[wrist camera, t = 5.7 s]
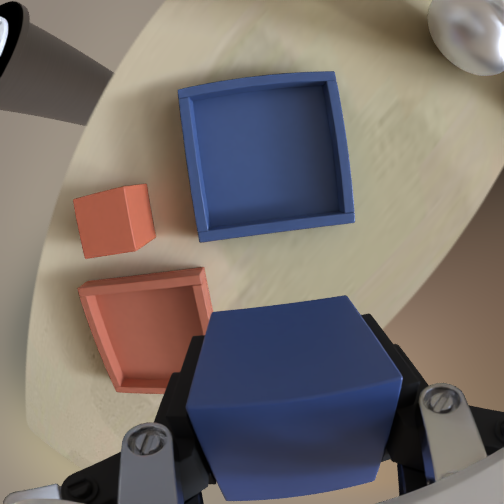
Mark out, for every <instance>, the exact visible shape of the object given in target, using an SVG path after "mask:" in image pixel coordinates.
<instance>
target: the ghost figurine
mask: <svg viewBox="0 0 504 504" xmlns="http://www.w3.org/2000/svg"><path fill="white" fill-rule="evenodd" d="M428 27H429V31H430V34H431V36H432V38H433V41H434V42H435V44H436V46H437V47H438V49H439V50H440V51H441V53H442V54H443V55H444V56H445V57H446V58H447V59H448V60H449V61H450V62H452V63H453V64H454V65H456V66H457V67H459V68H460V69H462V70H464V71H466V72H469V73H472V74H475V75H480V76H491V75H496V74H499V73H501V72H503V71H504V0H432V2H431V4H430V6H429V10H428Z"/></svg>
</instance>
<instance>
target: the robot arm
mask: <svg viewBox="0 0 504 504" xmlns="http://www.w3.org/2000/svg"><path fill="white" fill-rule="evenodd" d="M7 35H8V23H7V20H6V19H5V18H3V17H0V56H1V54H2V51H3V49H4V46H5V43H6V39H7ZM361 316H362V318H363V319H364V320H365V322H366V323H367V325H368V326H369V328H370V329H371V330H372V332H373V333H374V335H375V336H376V338H377V339H378V341H379V342H380V343H381V345H382V346H383V348H384V349H385V351H386V352H387V354H388V355H389V357H390V358H391V360H392V361H393V363H394V364H395V366H396V367H397V369H398V370H399V372H400V373H401V375H402V377H403V380H402V385H401V390H400V394H399V399H398V403H397V407H396V412H395V416H394V419H393V423H392V427H391V431H390V434H389V438H388V441H387V444H386V448H385V451H384V454H383V457H382V460H381V462H383V461H386V460H389V459H391V460H392V461H393V462H396V463H397V468H398V481H399V496H398V497H395V498H392V499H389V500H386V501H383V502H379V503H376V504H504V412H500V411H494V410H489V409H483V408H479V407H474V406H469V405H468V403H467V401H466V398H465V396H464V394H463V393H462V391H461V390H460V389H458V388H457V387H456V386H453V385H451V384H446V383H436V384H433V385H430V386H429V385H428V384H427V383H426V381H425V380H424V378H423V377H422V376H421V374H420V373H419V372H418V370H417V369H416V368H415V366H414V365H413V364H412V362H411V361H410V360H409V358H408V357H407V356H406V354H405V353H404V352H403V350H402V349H401V348H400V347H399V345H397V344H393V343H392V342H391V341H390V339H389V338H388V337H387V335H386V334H385V333H384V331H383V330H382V329H381V327H380V326H379V325H378V323H377V322H376V321H375V319H374V318H373V317H372V316H371V314H365V315H361ZM204 337H205V335H199V336H193V337H192V339H191V342H190V344H189V347H188V350H187V353H186V356H185V359H184V362H183V365H182V368H181V371H180V372H174V373H172V375H171V377H170V379H169V382H168V385H167V388H166V390H165V393H164V396H163V398H162V401H161V404H160V407H159V410H158V412H157V415H156V418H155V421H154V423H143V424H139V425H137V426H135V427H133V428H132V429H130V430H129V431H128V432H127V433H126V434H125V436H124V438H123V441H122V449H121V452H119V453H117V454H115V455H113V456H111V457H109V458H107V459H105V460H103V461H101V462H98V463H96V464H94V465H92V466H90V467H87V468H85V469H83V470H81V471H78V472H76V473H74V474H72V475H70V476H68V477H67V478H66V480H65V481H64V482H63V484H62V486H59V485H58V484H53V485H48V486H43V487H39V488H34V489H29V490H23V491H17V492H13V493H10V494H9V495H8V496H7V497H5V499H4V501H3V504H204V503H203V498H202V492H201V491H202V490H203V489H205V488H206V487H208V484H216V479H215V477H214V475H213V473H212V471H211V468H210V466H209V464H208V462H207V459H206V457H205V455H204V452H203V450H202V448H201V445H200V443H199V440H198V438H197V436H196V433H195V431H194V428H193V426H192V423H191V420H190V418H189V415H188V413H187V410H186V403H187V399H188V396H189V392H190V388H191V384H192V381H193V377H194V373H195V370H196V366H197V362H198V359H199V355H200V351H201V348H202V344H203V340H204Z"/></svg>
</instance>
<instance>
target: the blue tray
mask: <svg viewBox="0 0 504 504" xmlns="http://www.w3.org/2000/svg"><path fill="white" fill-rule="evenodd" d="M178 98H179V108H180V116H181V124H182V132H183V140H184V147H185V155H186V162H187V169H188V175H189V182H190V189H191V195H192V201H193V208H194V214H195V220H196V226H197V231H198V237H199V242H200V243H201V242H208V241H216V240H223V239H230V238H238V237H245V236H253V235H260V234H268V233H276V232H283V231H291V230H299V229H307V228H315V227H323V226H331V225H340V224H348V223H355V213H354V200H353V190H352V180H351V171H350V162H349V154H348V147H347V140H346V133H345V126H344V120H343V114H342V108H341V102H340V97H339V91H338V86H337V82H336V76H335V72H334V71H325V72H299V73H284V74H272V75H262V76H254V77H246V78H238V79H231V80H225V81H219V82H213V83H208V84H202V85H197V86H192V87H187V88H183V89H179V90H178Z"/></svg>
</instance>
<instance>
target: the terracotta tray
mask: <svg viewBox="0 0 504 504" xmlns="http://www.w3.org/2000/svg"><path fill="white" fill-rule="evenodd" d="M77 290H78V293H79V296H80V300H81V303H82V306H83V309H84V312H85V315H86V318H87V321H88V324H89V327H90V330H91V332H92V335H93V338H94V340H95V343H96V345H97V348H98V351H99V353H100V355H101V358H102V360H103V363H104V365H105V367H106V370H107V372H108V374H109V377H110V379H111V381H112V383H113V385H114V387H115V390H116V392H122V393H146V394H164V393H165V390H166V388H167V385H168V382H169V379H170V377H171V375H172V373H174V372H180V371H181V368H182V365H183V362H184V359H185V356H186V353H187V350H188V347H189V344H190V342H191V339H192V337H193V336H199V335H205V333H206V330H207V326H208V323H209V319H210V315H211V313H212V312H213V310H212V305H211V300H210V295H209V290H208V285H207V280H206V275H205V269H204V267H200V268H192V269H184V270H176V271H168V272H159V273H151V274H143V275H135V276H126V277H118V278H109V279H101V280H92V281H87V282H85V283H84V284H83V285H81V286H80V287H79V288H77Z"/></svg>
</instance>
